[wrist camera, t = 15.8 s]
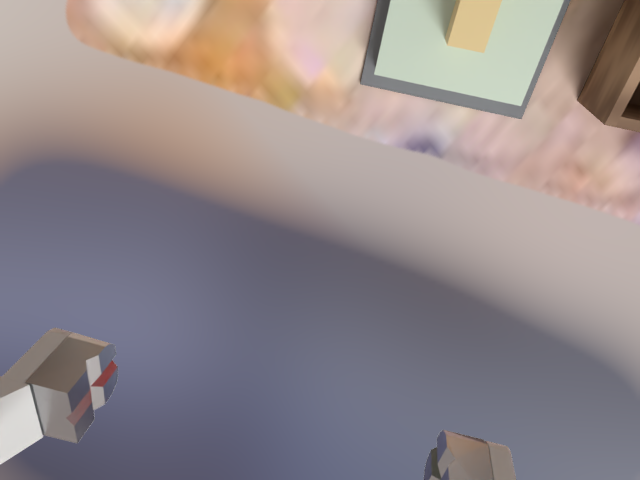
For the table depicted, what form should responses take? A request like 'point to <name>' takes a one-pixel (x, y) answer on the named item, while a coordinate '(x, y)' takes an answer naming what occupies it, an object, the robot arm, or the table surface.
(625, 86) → the box
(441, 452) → the robot arm
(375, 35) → the mat
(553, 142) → the table surface
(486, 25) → the lid
